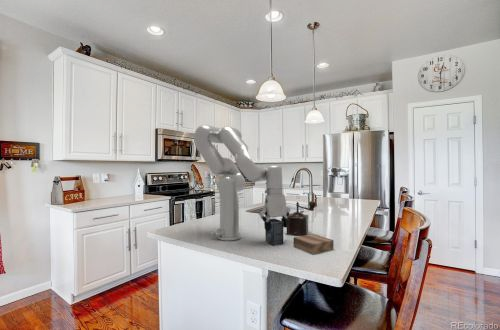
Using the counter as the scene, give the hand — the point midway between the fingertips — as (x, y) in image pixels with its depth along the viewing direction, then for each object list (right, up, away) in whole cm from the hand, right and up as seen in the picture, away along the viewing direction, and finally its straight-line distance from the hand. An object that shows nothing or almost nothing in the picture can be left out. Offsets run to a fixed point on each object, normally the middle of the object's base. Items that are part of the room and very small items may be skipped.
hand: (275, 228), depth 118 cm
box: (-1, -7, 0) cm, 7 cm away
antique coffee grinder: (+16, -7, +16) cm, 23 cm away
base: (+16, -7, -7) cm, 18 cm away
